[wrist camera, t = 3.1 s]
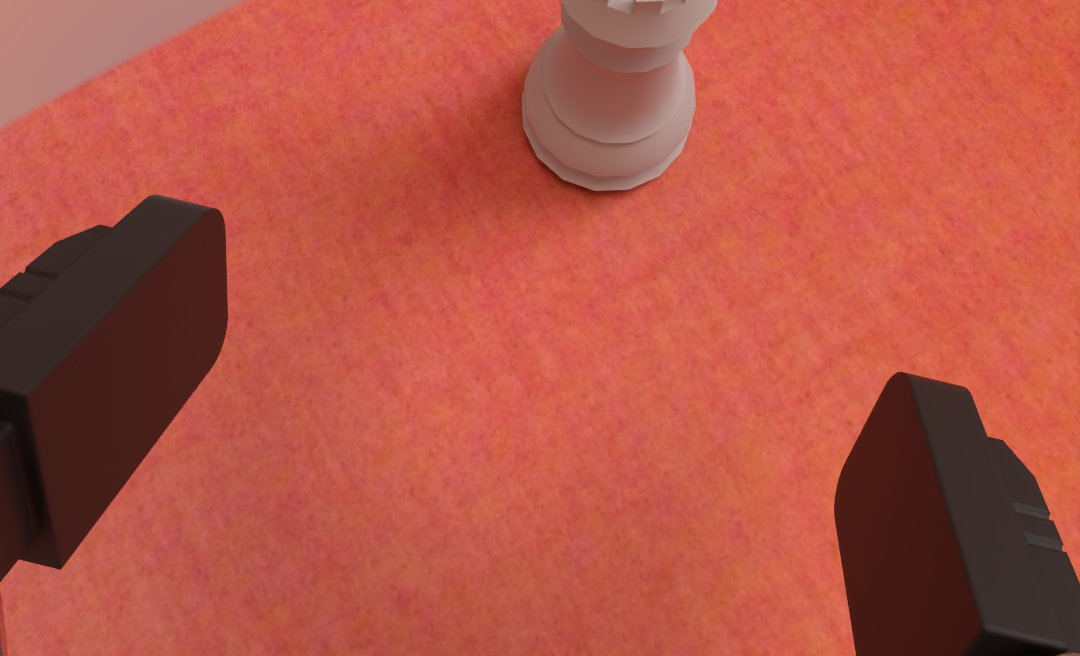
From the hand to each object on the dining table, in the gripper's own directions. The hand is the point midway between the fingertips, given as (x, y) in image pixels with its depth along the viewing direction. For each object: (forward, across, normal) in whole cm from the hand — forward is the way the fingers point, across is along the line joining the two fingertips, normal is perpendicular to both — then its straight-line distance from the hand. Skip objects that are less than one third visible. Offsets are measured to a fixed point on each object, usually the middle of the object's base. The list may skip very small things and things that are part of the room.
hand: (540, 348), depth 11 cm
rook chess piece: (+14, 0, +3) cm, 15 cm away
